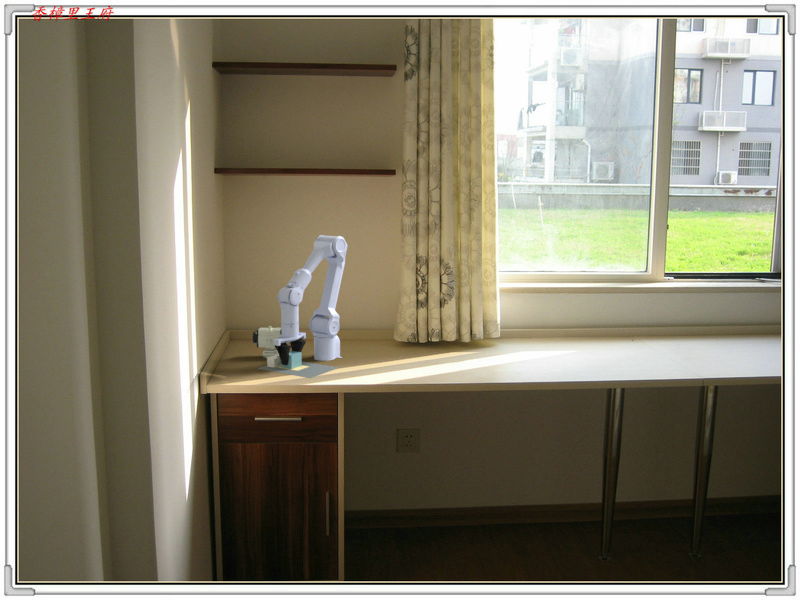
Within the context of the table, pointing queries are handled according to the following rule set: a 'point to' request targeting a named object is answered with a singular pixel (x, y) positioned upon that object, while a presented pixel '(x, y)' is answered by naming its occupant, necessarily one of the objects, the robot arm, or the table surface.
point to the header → (274, 361)
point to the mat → (302, 369)
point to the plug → (293, 360)
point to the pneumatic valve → (267, 339)
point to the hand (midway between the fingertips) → (290, 362)
